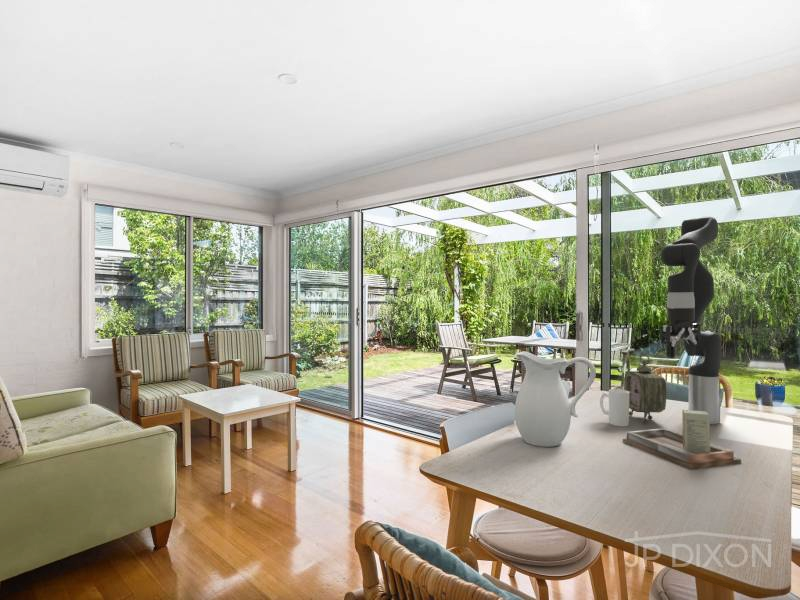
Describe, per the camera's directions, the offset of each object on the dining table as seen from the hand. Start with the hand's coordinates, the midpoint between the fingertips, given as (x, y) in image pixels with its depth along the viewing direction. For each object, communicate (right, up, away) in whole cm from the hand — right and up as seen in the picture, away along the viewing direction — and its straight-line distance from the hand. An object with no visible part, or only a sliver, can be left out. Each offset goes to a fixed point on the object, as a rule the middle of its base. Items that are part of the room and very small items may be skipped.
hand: (681, 356), depth 146 cm
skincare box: (-6, -26, -16) cm, 31 cm away
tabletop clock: (+1, -27, +24) cm, 36 cm away
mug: (-13, -27, +19) cm, 35 cm away
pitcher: (-42, -27, -4) cm, 50 cm away
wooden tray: (-8, -27, -11) cm, 30 cm away
